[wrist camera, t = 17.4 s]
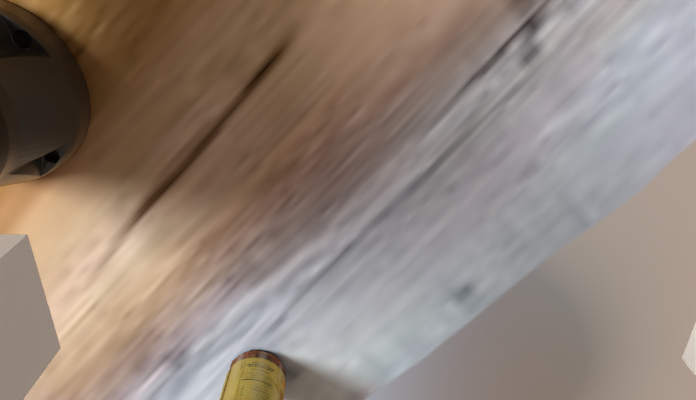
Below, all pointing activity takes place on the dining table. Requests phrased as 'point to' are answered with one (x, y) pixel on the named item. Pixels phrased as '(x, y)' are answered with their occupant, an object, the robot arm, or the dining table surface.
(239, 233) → the dining table surface
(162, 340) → the dining table surface
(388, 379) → the dining table surface
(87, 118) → the robot arm
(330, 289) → the dining table surface
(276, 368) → the sauce bottle
